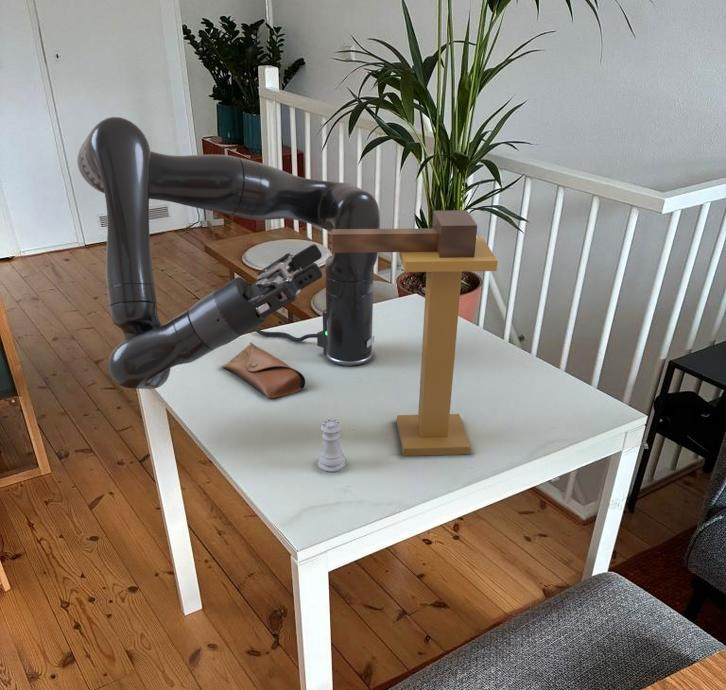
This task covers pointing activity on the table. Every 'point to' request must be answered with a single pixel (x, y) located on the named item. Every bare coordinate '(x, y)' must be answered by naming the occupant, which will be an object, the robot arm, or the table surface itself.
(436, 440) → the pedestal
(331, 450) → the rook chess piece
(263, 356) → the sunglasses case
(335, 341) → the robot arm
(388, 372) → the table surface
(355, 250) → the walnut mallet
